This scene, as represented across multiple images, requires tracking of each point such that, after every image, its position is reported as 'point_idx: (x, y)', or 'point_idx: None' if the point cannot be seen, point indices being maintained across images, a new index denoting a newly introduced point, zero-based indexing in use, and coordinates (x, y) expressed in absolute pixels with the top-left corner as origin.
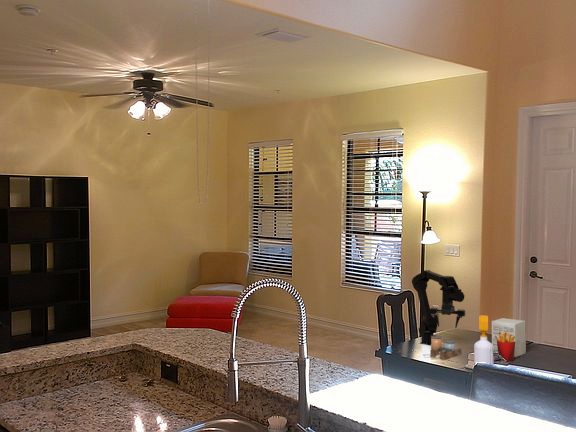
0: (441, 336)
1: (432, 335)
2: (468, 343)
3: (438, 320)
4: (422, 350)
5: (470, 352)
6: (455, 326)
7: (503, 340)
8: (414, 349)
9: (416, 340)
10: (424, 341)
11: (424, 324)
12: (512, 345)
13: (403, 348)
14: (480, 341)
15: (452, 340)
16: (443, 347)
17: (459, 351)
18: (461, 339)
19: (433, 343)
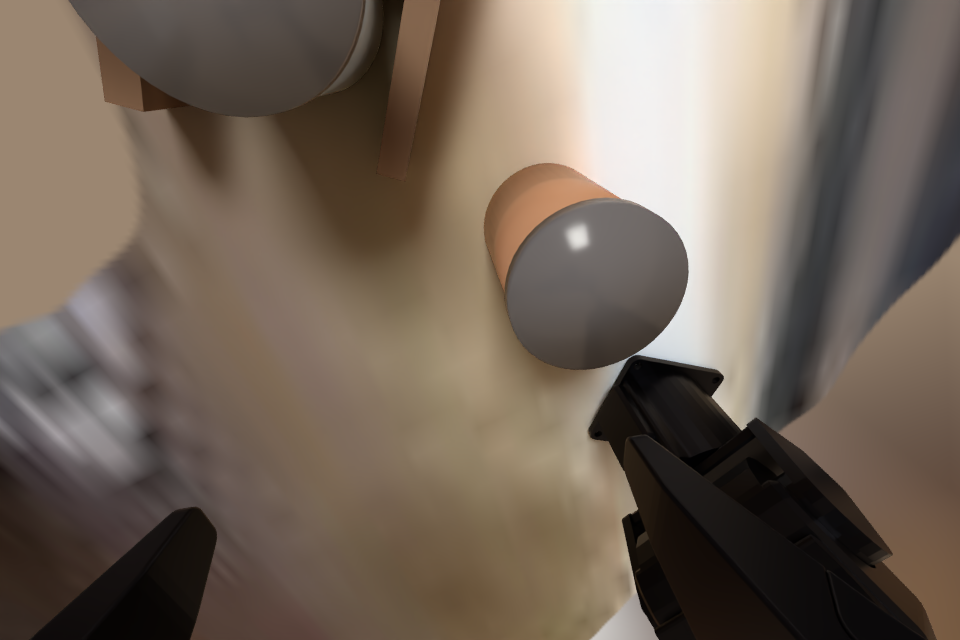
0: (515, 325)
1: (662, 324)
2: (342, 538)
3: (753, 630)
4: (701, 71)
5: (130, 261)
6: (162, 547)
7: None
8: (800, 80)
9: None
10: (691, 384)
11: (866, 534)
12: None
13: (934, 69)
14: None
15: (168, 40)
16: (403, 32)
17: None
18: (430, 591)
19: (598, 187)
